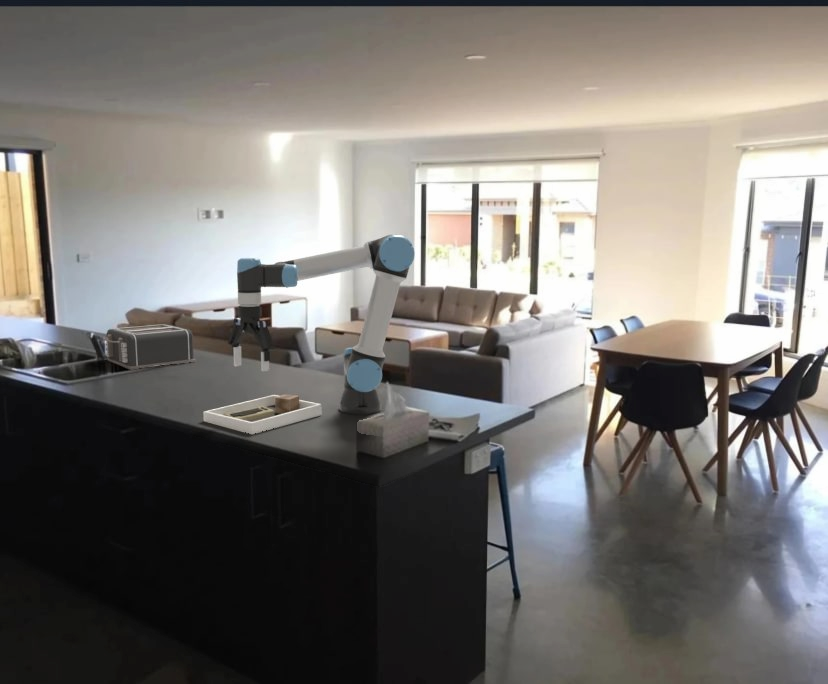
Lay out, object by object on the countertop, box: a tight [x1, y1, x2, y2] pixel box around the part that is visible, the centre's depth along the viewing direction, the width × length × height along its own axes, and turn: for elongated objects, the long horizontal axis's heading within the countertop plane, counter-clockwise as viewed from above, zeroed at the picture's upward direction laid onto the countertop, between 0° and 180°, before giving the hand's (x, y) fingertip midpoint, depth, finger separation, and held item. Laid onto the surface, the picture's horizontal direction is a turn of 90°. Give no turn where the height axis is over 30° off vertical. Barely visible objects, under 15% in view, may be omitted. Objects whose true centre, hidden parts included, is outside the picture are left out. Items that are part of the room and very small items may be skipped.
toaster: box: [102, 323, 197, 371], centre depth 348 cm, size 30×36×17 cm
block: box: [274, 393, 300, 415], centre depth 260 cm, size 6×6×6 cm
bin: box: [202, 394, 323, 435], centre depth 252 cm, size 24×32×4 cm
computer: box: [223, 406, 275, 422], centre depth 249 cm, size 16×8×3 cm, turn 139°
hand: (251, 368), depth 245 cm, fingers open, 13 cm apart
